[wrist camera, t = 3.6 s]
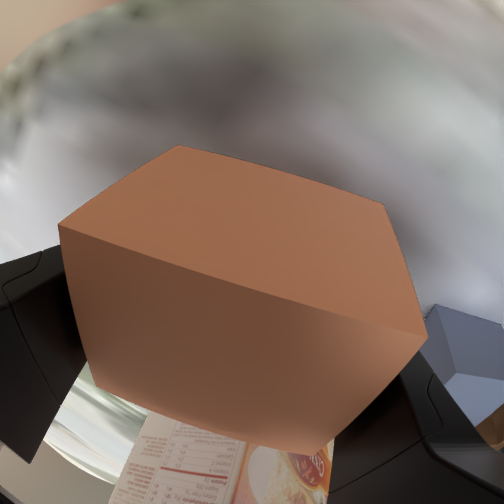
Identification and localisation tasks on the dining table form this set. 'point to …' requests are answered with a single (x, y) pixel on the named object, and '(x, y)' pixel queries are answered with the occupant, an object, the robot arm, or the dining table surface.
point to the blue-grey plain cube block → (467, 359)
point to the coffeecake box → (216, 469)
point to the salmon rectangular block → (240, 298)
